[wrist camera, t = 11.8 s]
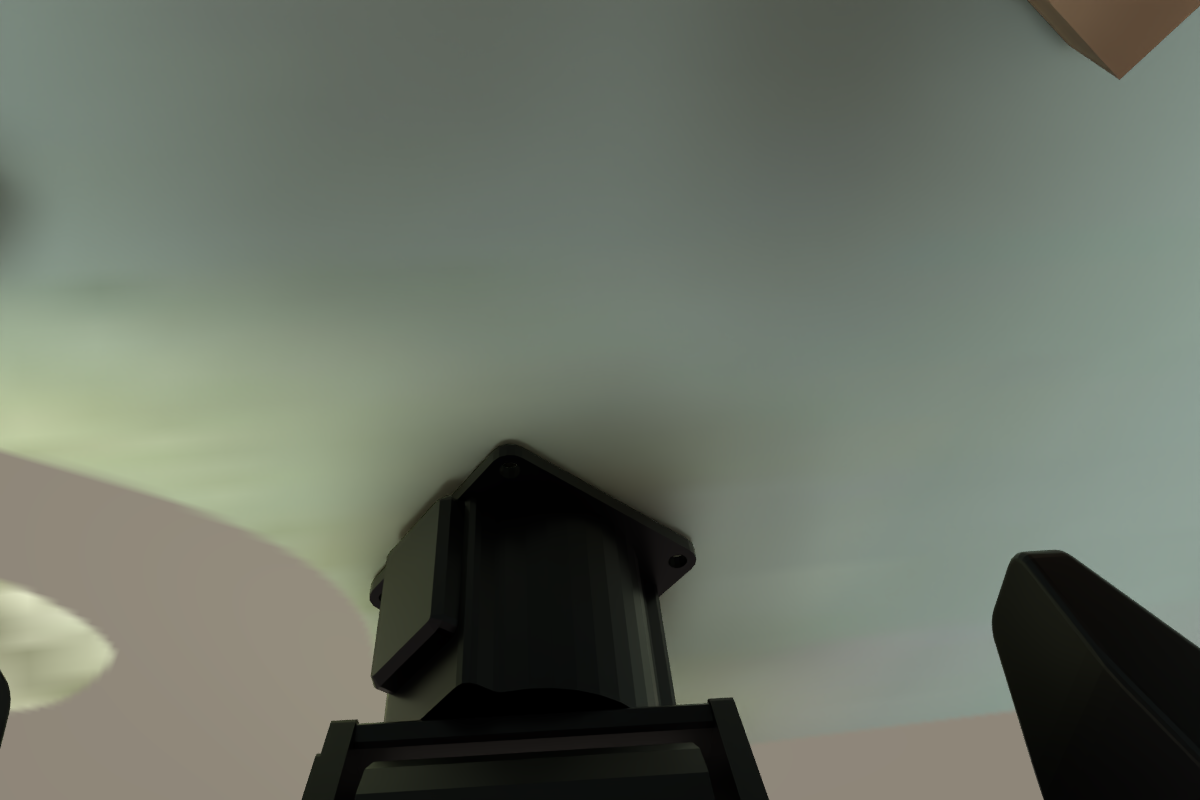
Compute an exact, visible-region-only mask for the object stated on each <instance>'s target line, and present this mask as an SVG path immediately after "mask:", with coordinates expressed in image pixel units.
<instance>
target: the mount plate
mask: <svg viewBox="0 0 1200 800" xmlns="http://www.w3.org/2000/svg"><path fill="white" fill-rule="evenodd" d="M1028 1H1029V2H1030V4H1031V5H1032V6H1033V7H1034V8H1035V9H1036V10H1037V11H1038V12H1039V13H1040V14H1041V16H1042V17H1043V18H1044V19H1045V20H1046V21H1047V22H1048V23H1049V24H1050V25H1051V26H1052V28H1053V29H1054V30H1055V31H1056V32H1057V33H1058V34H1059V35H1060V36H1061V37H1062V38H1063V39H1064V41H1065V42H1066V43H1067V44H1068V45H1069V46H1071V47H1072V48H1074V49H1075V50H1077V51H1078V52H1079V53H1081V54H1082V55H1084V56H1085V57H1087V58H1088V59H1090V60H1091V61H1093V62H1094V63H1096V64H1097V65H1099V66H1100V67H1102V68H1103V69H1105V70H1106V71H1107V72H1109V73H1110V74H1112V75H1113V76H1115V77H1116V78H1118V79H1119V80H1120V79H1121V78H1122V77H1123V76H1124V75H1125V74H1126V73H1127V72H1128V71H1130V70H1131V69H1132V68H1133V67H1134V66H1135V65H1136V64H1137V63H1138V62H1139V61H1140V60H1141V59H1143V58H1144V57H1145V56H1146V55H1147V54H1148V53H1149V52H1150V51H1151V50H1152V49H1153V48H1154V47H1156V46H1157V45H1158V44H1159V43H1160V42H1161V41H1162V40H1163V39H1164V38H1165V37H1166V36H1167V35H1169V34H1170V33H1171V32H1172V31H1173V30H1174V29H1175V28H1176V27H1177V26H1178V25H1179V24H1180V23H1182V22H1183V21H1184V20H1185V19H1186V18H1187V17H1188V16H1189V15H1190V14H1191V13H1192V12H1193V11H1195V10H1196V9H1197V8H1198V7H1199V6H1200V0H1028Z"/></svg>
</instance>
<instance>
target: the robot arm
mask: <svg viewBox="0 0 1200 800" xmlns="http://www.w3.org/2000/svg"><path fill="white" fill-rule="evenodd" d="M505 463H515V464H517V466H515V467H512V468H507V467H504V466H503V464H505ZM679 554H680V555H681V556H679V557H672V556H674V555H679ZM695 562H696V555H695V551H694V547H693V544H692V543H691V542H690V541H689V540H688V539H686V538H684V537H682V536H681V535H679V534H677V533H675V532H673V531H672V530H670V529H668V528H666V527H664V526H663V525H661V524H659V523H657V522H655V521H654V520H652V519H650V518H648V517H646V516H645V515H643V514H641V513H639V512H637V511H636V510H634V509H632V508H630V507H628V506H627V505H625V504H623V503H621V502H619V501H618V500H616V499H614V498H612V497H611V496H609V495H607V494H605V493H603V492H602V491H600V490H598V489H596V488H594V487H593V486H591V485H589V484H587V483H585V482H584V481H582V480H580V479H578V478H576V477H575V476H573V475H571V474H569V473H567V472H566V471H564V470H562V469H560V468H558V467H557V466H555V465H553V464H551V463H549V462H548V461H546V460H544V459H542V458H540V457H539V456H537V455H535V454H533V453H532V452H530V451H528V450H526V449H524V448H523V447H520V446H517V445H510V444H506V445H503V446H499V447H498V448H496V449H495V450H494V451H493V452H492V453H491V454H490V455H489V456H488V457H487V458H486V459H485V460H484V461H483V462H482V464H481V465H480V466H479V467H478V468H477V469H476V470H475V471H474V472H473V473H472V474H471V475H470V476H469V478H468V479H467V480H466V481H465V482H464V483H463V484H462V485H461V486H460V487H459V488H458V489H457V490H456V492H455V493H454V494H453V495H452V496H446V497H444V498H441V499H439V500H438V501H437V502H436V503H435V504H434V505H433V506H432V507H431V508H430V509H429V510H428V511H427V513H426V514H425V515H424V516H423V517H422V518H421V519H420V520H419V521H418V522H417V523H416V524H415V526H414V527H413V528H412V529H411V530H410V531H409V532H408V533H407V534H406V535H405V536H404V538H403V539H402V540H401V541H400V542H399V543H398V544H397V545H396V546H395V547H394V548H393V549H392V551H391V552H390V553H389V554H388V556H387V561H386V567H385V568H384V569H383V570H382V571H381V572H380V574H379V575H378V576H377V577H376V578H375V579H374V580H373V582H372V584H371V589H370V602H371V603H372V604H373V606H375V607H377V608H378V609H380V612H379V620H378V627H377V634H376V642H375V649H374V656H373V664H372V671H371V678H372V681H373V685H374V687H375V688H376V689H378V690H381V691H383V692H386V693H387V700H386V708H385V717H384V722H382V723H381V722H380V723H364V724H359V722H358V720H342V721H341V720H340V721H331V723H330V727H329V730H328V733H327V736H326V739H325V742H324V745H323V749H322V752H321V754H317V755H316V756H315V759H314V763H313V766H312V769H311V772H310V775H309V778H308V781H307V784H306V787H305V791H304V794H303V797H302V800H769V798H768V796H767V793H766V790H765V787H764V784H763V781H762V779H761V776H760V773H759V770H758V767H757V765H756V761H755V759H754V756H753V753H752V750H751V747H750V744H749V742H748V739H747V736H746V733H745V730H744V727H743V725H742V722H741V719H740V716H739V713H738V710H737V708H736V705H735V702H734V699H733V698H716V699H708V702H707V703H703V704H686V705H676V702H675V696H674V689H673V683H672V677H671V671H670V665H669V658H668V652H667V646H666V640H665V633H664V627H663V621H662V615H661V609H660V602H659V596H660V595H662V594H663V593H664V592H665V591H666V590H667V589H669V588H670V587H671V586H672V585H673V584H674V583H676V582H677V581H678V580H679V579H680V578H681V577H682V576H684V575H685V574H686V573H687V572H688V571H689V570H691V569H692V567H693V566H694V565H695ZM992 631H993V637H994V641H995V644H996V647H997V651H998V654H999V657H1000V661H1001V664H1002V667H1003V670H1004V674H1005V677H1006V680H1007V683H1008V687H1009V690H1010V693H1011V697H1012V700H1013V703H1014V706H1015V710H1016V713H1017V716H1018V719H1019V723H1020V726H1021V729H1022V732H1023V736H1024V739H1025V742H1026V746H1027V749H1028V752H1029V755H1030V759H1031V762H1032V765H1033V768H1034V772H1035V775H1036V778H1037V781H1038V784H1039V787H1040V790H1041V793H1042V796H1043V798H1044V800H1200V648H1199V647H1198V646H1196V645H1195V644H1193V643H1192V642H1191V641H1189V640H1188V639H1187V638H1185V637H1184V636H1182V635H1181V634H1180V633H1178V632H1177V631H1175V630H1174V629H1173V628H1171V627H1170V626H1169V625H1167V624H1166V623H1164V622H1163V621H1162V620H1160V619H1159V618H1157V617H1156V616H1155V615H1153V614H1152V613H1150V612H1149V611H1148V610H1146V609H1145V608H1144V607H1142V606H1141V605H1139V604H1138V603H1137V602H1135V601H1134V600H1132V599H1131V598H1130V597H1128V596H1127V595H1125V594H1124V593H1123V592H1121V591H1120V590H1119V589H1117V588H1116V587H1114V586H1113V585H1112V584H1110V583H1109V582H1107V581H1106V580H1105V579H1103V578H1102V577H1100V576H1099V575H1098V574H1096V573H1095V572H1094V571H1092V570H1091V569H1089V568H1088V567H1087V566H1085V565H1084V564H1082V563H1081V562H1080V561H1078V560H1077V559H1076V558H1074V557H1073V556H1071V555H1069V554H1068V553H1066V552H1063V551H1060V550H1043V551H1028V552H1021V553H1017V554H1016V555H1015V556H1014V557H1013V558H1012V559H1011V561H1010V563H1009V565H1008V568H1007V571H1006V574H1005V577H1004V580H1003V583H1002V586H1001V589H1000V592H999V595H998V598H997V601H996V604H995V607H994V611H993V615H992ZM10 700H11V699H10V690H9V686H8V683H7V681H6V679H5V677H4V675H3V674H2V672H1V670H0V748H1V744H2V740H3V736H4V731H5V727H6V723H7V719H8V715H9V710H10Z"/></svg>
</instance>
